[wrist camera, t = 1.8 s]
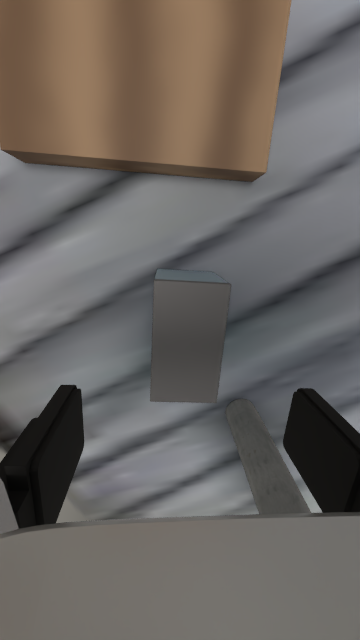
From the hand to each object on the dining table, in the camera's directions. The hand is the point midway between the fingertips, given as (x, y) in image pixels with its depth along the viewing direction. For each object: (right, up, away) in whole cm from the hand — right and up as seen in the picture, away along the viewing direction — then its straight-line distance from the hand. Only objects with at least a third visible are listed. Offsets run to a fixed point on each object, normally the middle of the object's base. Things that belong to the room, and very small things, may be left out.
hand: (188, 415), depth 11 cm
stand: (-3, +22, +7) cm, 23 cm away
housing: (0, +4, +13) cm, 14 cm away
